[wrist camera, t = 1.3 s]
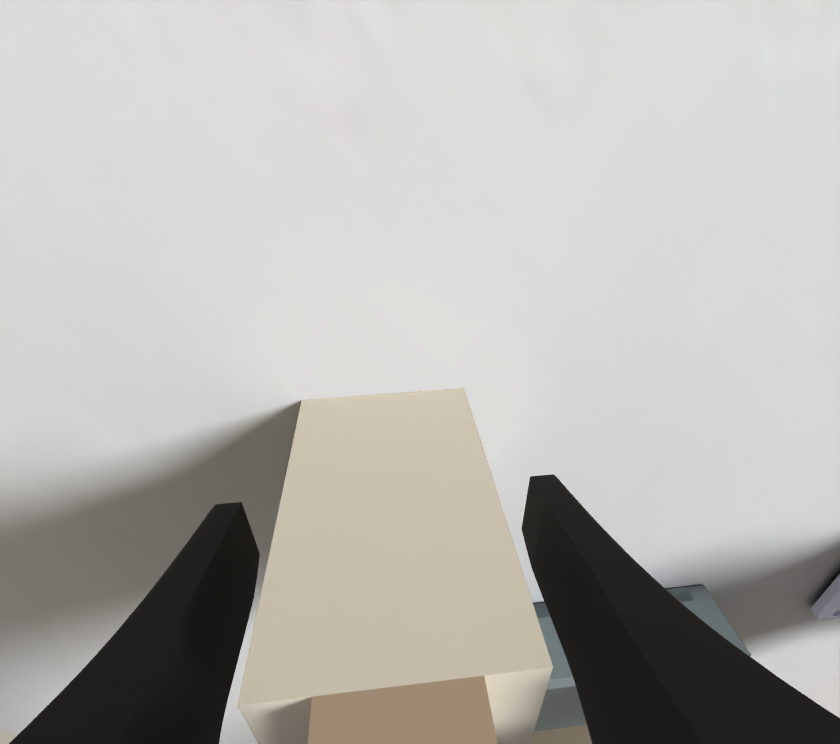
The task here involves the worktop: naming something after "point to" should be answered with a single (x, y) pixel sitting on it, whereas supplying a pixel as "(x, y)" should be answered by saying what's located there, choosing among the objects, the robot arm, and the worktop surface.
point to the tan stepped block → (563, 736)
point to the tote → (561, 691)
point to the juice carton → (393, 586)
